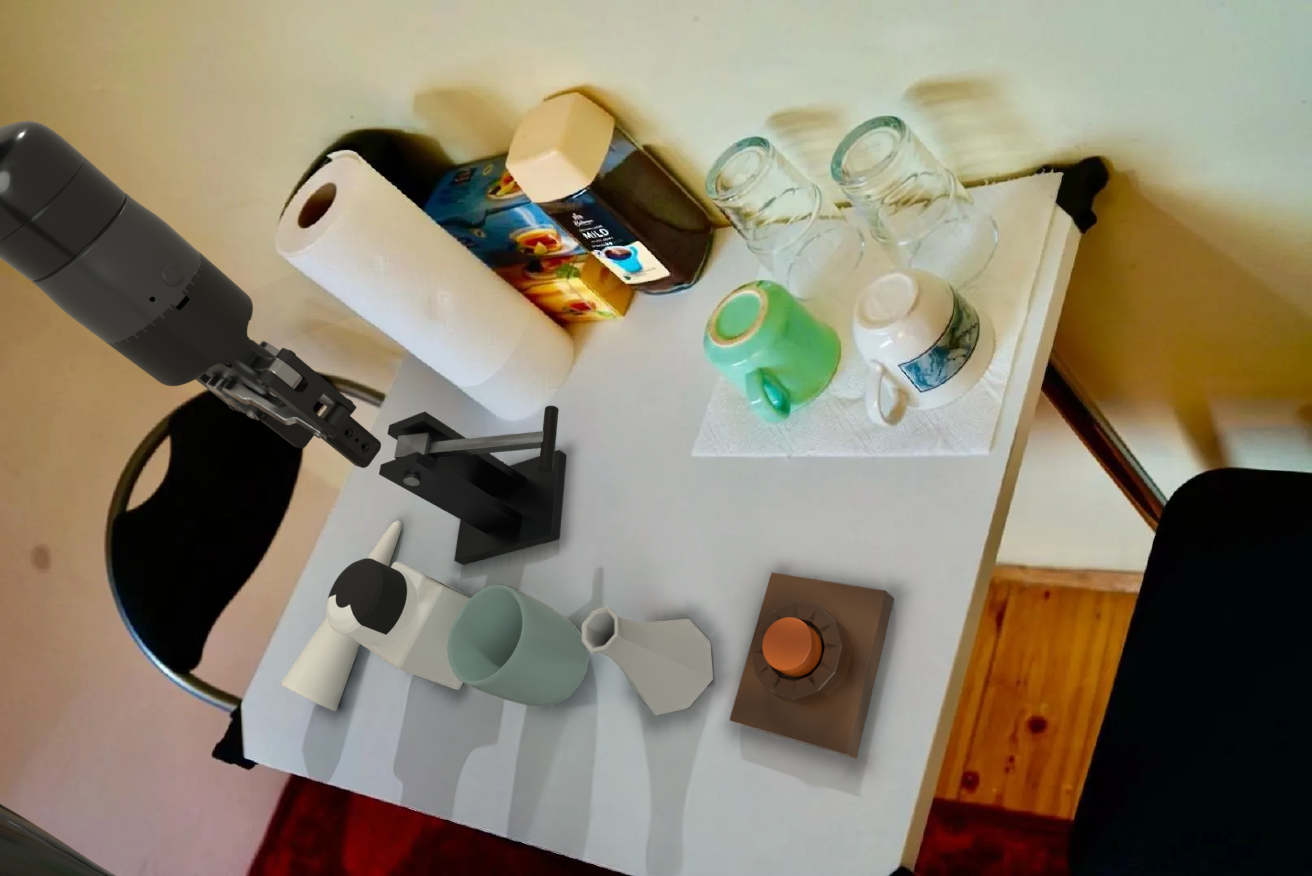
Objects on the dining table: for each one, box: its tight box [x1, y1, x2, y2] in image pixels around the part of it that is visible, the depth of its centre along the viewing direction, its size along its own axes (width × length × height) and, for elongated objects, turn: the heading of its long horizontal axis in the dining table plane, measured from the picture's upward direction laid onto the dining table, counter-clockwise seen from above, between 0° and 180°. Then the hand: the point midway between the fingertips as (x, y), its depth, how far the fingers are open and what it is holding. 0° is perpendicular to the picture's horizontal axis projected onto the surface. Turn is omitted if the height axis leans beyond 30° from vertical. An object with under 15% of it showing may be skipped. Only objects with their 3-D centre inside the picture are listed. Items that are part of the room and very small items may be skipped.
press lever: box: [393, 405, 560, 473], centre depth 77 cm, size 14×6×2 cm, turn 89°
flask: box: [581, 605, 714, 717], centre depth 65 cm, size 7×7×10 cm
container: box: [325, 557, 472, 690], centre depth 79 cm, size 8×8×13 cm
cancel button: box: [762, 617, 822, 677], centre depth 60 cm, size 4×4×2 cm
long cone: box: [280, 520, 402, 712], centre depth 90 cm, size 6×6×19 cm
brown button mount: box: [729, 572, 895, 760], centre depth 61 cm, size 11×9×4 cm
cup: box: [447, 583, 590, 707], centre depth 71 cm, size 8×8×10 cm
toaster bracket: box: [378, 411, 567, 565], centre depth 82 cm, size 12×9×15 cm
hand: (339, 447), depth 64 cm, fingers open, 8 cm apart
